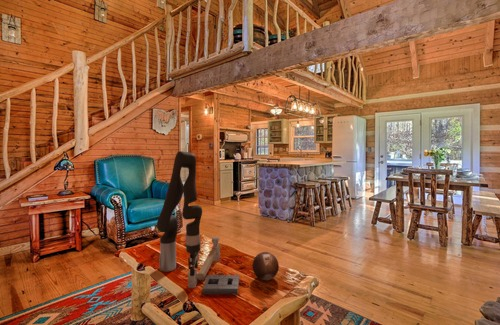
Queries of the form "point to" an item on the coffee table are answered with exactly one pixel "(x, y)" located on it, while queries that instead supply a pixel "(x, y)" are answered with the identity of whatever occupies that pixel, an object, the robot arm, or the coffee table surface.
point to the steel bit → (192, 280)
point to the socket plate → (221, 284)
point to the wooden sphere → (265, 266)
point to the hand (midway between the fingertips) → (194, 271)
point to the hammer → (210, 259)
